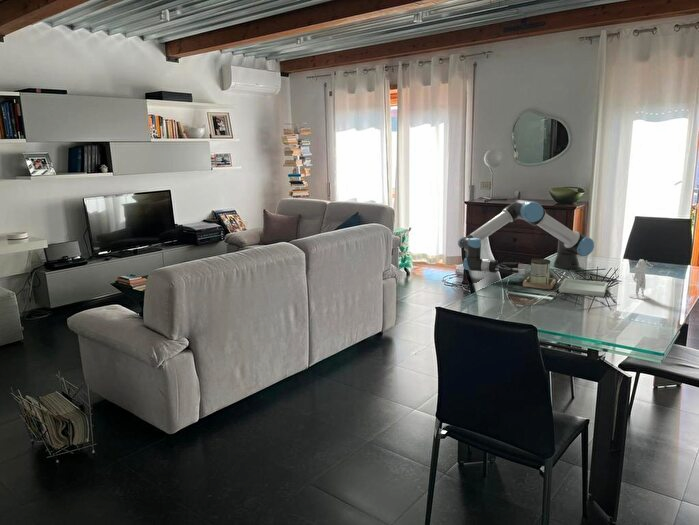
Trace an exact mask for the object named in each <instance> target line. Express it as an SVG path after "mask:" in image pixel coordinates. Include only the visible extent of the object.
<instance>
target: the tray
mask: <svg viewBox="0 0 699 525" xmlns="http://www.w3.org/2000/svg"><path fill="white" fill-rule="evenodd" d="M607 290H608V282H604V281H595V280H586V279H585V280H584V279H574V278H564V279H563V280H562V281H561V284H560V285H559V287H558V293H563V294H564V293H566V294H572V295H573V294H575V295H583V296H591V297H592V296H593V297H602V298H603V297H605V295H606V292H607Z"/></svg>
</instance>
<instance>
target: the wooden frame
mask: <svg viewBox="0 0 699 525" xmlns="http://www.w3.org/2000/svg"><path fill="white" fill-rule="evenodd" d="M556 282H557V281H556V278H550V277H549V284H541V283H531V282H530V275H529V276H528V277H526V278H525V279H524V281H523V282H522V287H525V288H535V289H542V290H543V289H544V290H552V289H553V287H554V286H555V284H556Z"/></svg>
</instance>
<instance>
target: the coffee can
mask: <svg viewBox="0 0 699 525" xmlns="http://www.w3.org/2000/svg"><path fill="white" fill-rule="evenodd" d="M550 270H551V260H550V259H547V258H546V259H545V258H532V259H531V260H530V275H529V276H530V281H529V282H531V283H541V284H550V283H549V278H550V273H551V271H550Z"/></svg>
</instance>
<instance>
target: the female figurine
mask: <svg viewBox="0 0 699 525" xmlns="http://www.w3.org/2000/svg"><path fill="white" fill-rule="evenodd" d="M648 265H649V266H648ZM653 267H654V265H653V264H652V263H650V262H649V261H648V260H644V259H643V258H642V259H641V258H640V259H639V260H638V262H637V263H636V265H635V272H634V275H633V273H632V272H630V274H631V275H632V277H631V278H632V280H633V282H635V286H636V287H635V293H631V294H629V295H628V296H629V297H630V298H632V299H636V300H650V299H651V297H650V296H649V295H647V294H644V293H645V292H644V291H645V290H646V274H645V273H646V271H647V269H653ZM640 291H641V294H639V292H640Z"/></svg>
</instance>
